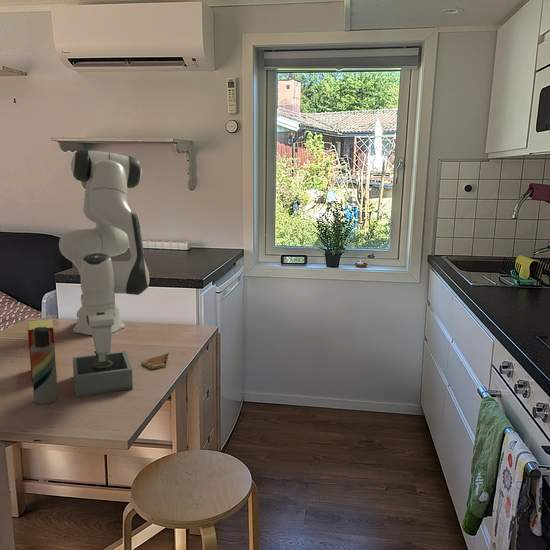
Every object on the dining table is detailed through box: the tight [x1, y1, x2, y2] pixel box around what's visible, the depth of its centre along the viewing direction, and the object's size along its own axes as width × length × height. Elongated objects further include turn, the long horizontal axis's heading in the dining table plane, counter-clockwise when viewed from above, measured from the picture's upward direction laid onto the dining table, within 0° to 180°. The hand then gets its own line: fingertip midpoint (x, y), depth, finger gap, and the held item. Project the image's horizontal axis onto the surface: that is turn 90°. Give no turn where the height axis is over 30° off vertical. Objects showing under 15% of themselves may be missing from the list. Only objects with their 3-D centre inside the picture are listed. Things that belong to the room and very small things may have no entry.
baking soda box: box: [27, 318, 57, 383], centre depth 144 cm, size 10×6×16 cm
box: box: [72, 350, 134, 398], centre depth 141 cm, size 15×15×6 cm
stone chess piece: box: [91, 350, 112, 373], centre depth 140 cm, size 6×6×12 cm
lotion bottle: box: [29, 327, 59, 405], centre depth 128 cm, size 6×6×20 cm
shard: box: [141, 352, 170, 370], centre depth 157 cm, size 11×8×2 cm
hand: (101, 358), depth 140 cm, fingers closed on stone chess piece, 3 cm apart
